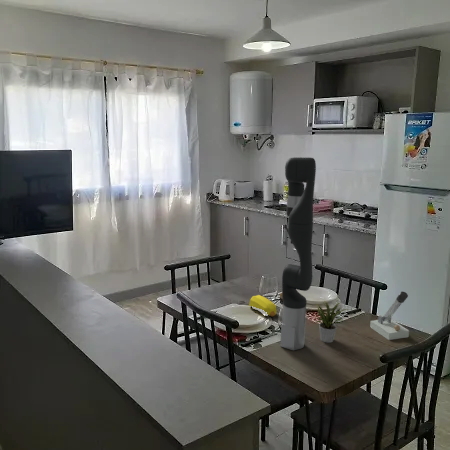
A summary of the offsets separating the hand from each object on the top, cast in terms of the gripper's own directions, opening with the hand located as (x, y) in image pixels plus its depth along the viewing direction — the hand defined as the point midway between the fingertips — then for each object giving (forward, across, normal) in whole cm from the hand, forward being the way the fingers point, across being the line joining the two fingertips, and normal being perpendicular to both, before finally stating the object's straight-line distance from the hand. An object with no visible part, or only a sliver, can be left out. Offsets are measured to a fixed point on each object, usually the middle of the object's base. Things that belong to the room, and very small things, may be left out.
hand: (293, 243), depth 206 cm
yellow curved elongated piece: (+35, -3, +13) cm, 38 cm away
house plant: (+35, -11, -25) cm, 45 cm away
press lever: (+31, +14, -39) cm, 52 cm away
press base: (+35, +12, -42) cm, 56 cm away
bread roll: (+35, +18, +10) cm, 41 cm away
